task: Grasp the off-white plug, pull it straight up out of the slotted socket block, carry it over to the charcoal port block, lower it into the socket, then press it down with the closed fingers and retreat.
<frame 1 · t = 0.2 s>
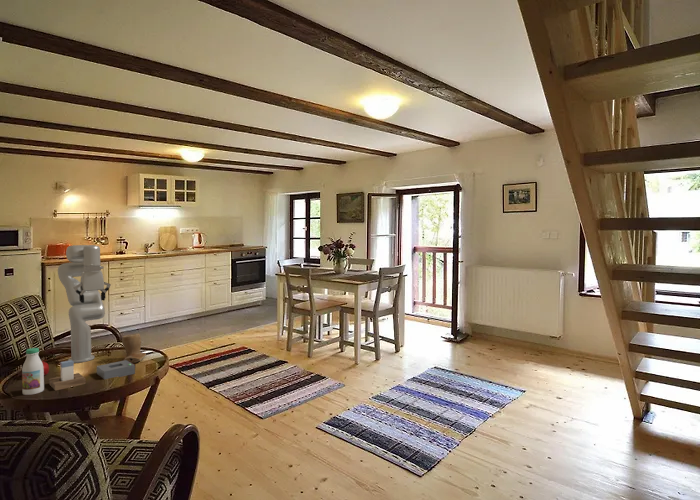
hand: (92, 301, 216), 36 cm above the table, tool pointing down, fingers open, 9 cm apart
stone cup: (133, 360, 234), on the table
plug: (67, 383, 194), point 1 cm above the table, touching slotted socket block
milk bottle: (33, 393, 185), on the table
port block: (115, 374, 210), on the table
slotted socket block: (67, 385, 194), on the table
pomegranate: (37, 376, 207), on the table
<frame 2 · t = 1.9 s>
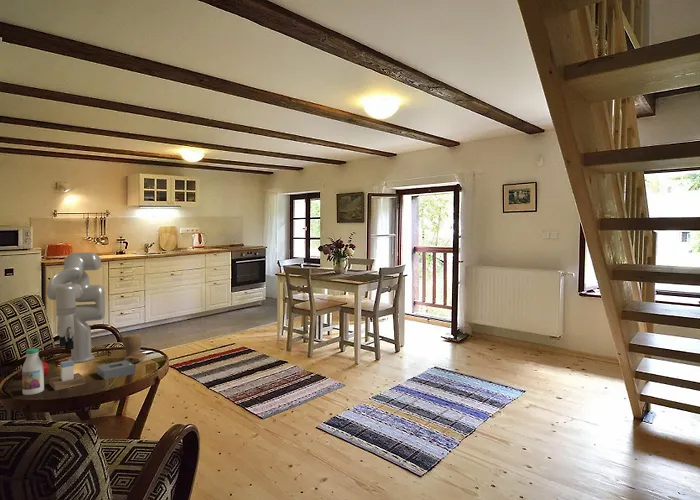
hand: (66, 347, 193), 18 cm above the table, tool pointing down, fingers open, 9 cm apart
nothing on the table moved.
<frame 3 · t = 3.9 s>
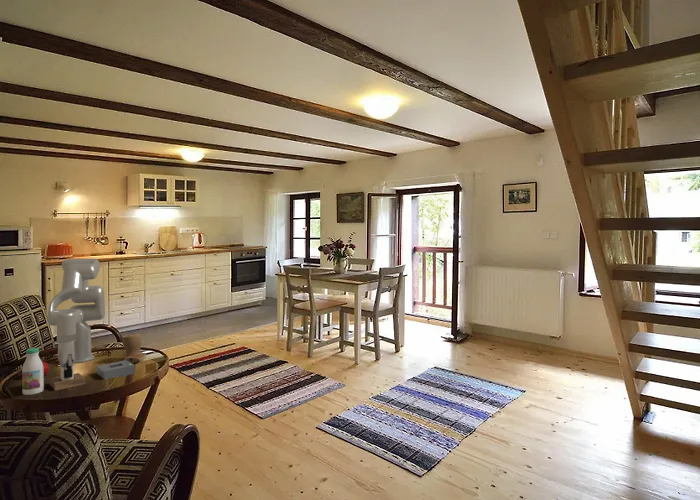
hand: (67, 376, 194), 4 cm above the table, tool pointing down, fingers closed on plug, 3 cm apart
plug: (67, 383, 194), point 1 cm above the table, touching gripper, slotted socket block
everything else where it was.
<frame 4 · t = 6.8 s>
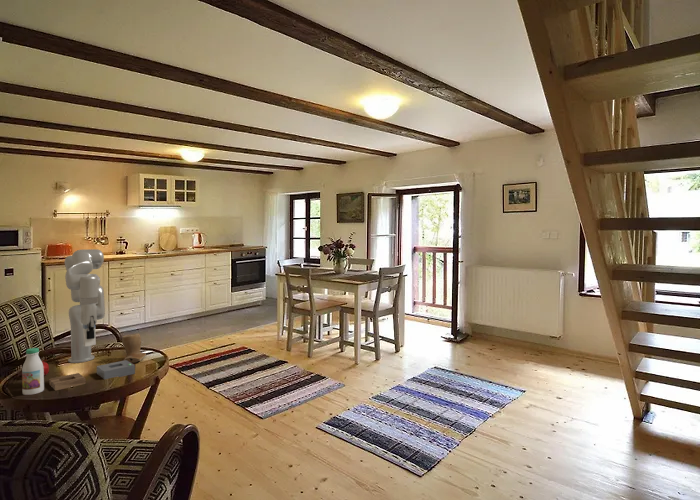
hand: (89, 337, 201), 21 cm above the table, tool pointing down, fingers closed on plug, 3 cm apart
plug: (89, 345, 201), point 17 cm above the table, touching gripper
everything else where it was.
when the fingers open (6 cm above the table, at t = 10.0 s): plug drops 1 cm, resting on port block.
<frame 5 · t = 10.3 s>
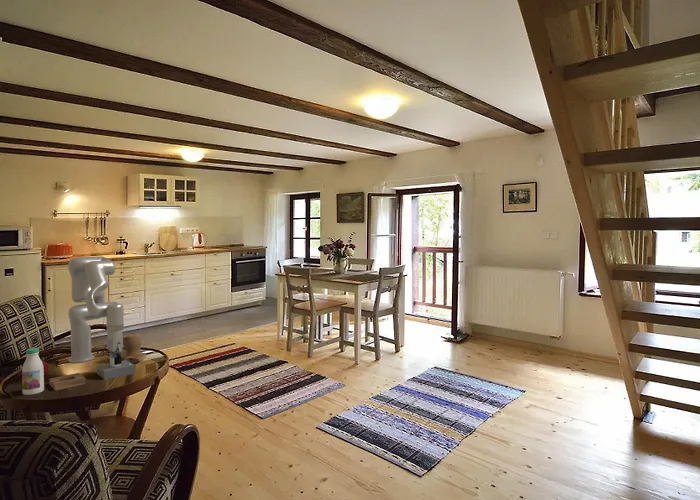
hand: (115, 362, 209), 6 cm above the table, tool pointing down, fingers open, 5 cm apart
plug: (115, 373, 210), point 1 cm above the table, touching port block
everything else where it was.
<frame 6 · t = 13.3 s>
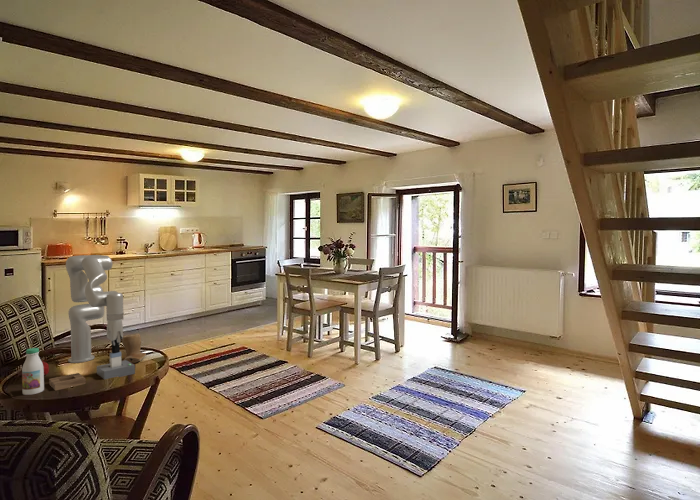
hand: (115, 352, 209), 11 cm above the table, tool pointing down, fingers closed
plug: (115, 373, 210), point 1 cm above the table, touching gripper, port block
everything else where it was.
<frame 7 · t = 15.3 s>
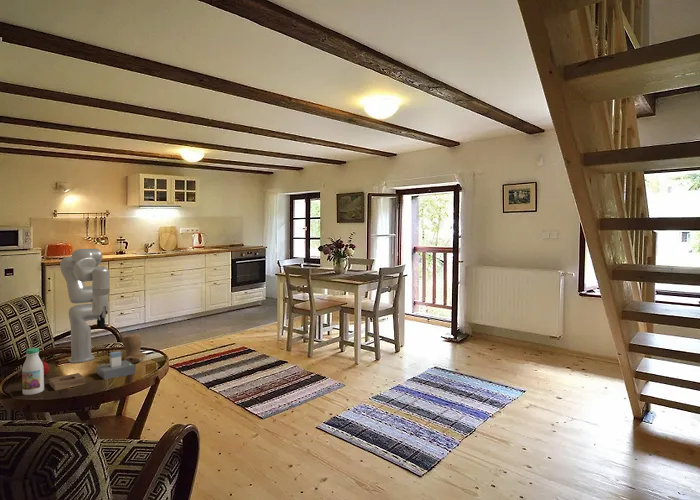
hand: (100, 327, 211), 24 cm above the table, tool pointing down, fingers closed
plug: (115, 373, 210), point 1 cm above the table, touching port block
everything else where it was.
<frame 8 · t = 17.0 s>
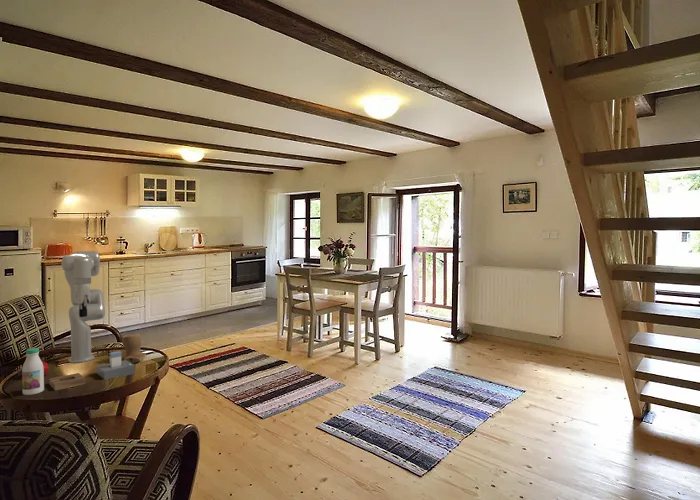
hand: (83, 316, 212), 29 cm above the table, tool pointing down, fingers closed
nothing on the table moved.
at the end: plug 0.1 cm off-centre on the port block, point 0.6 cm above the port block's base; plug tilted 0°; the gripper is holding nothing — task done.
